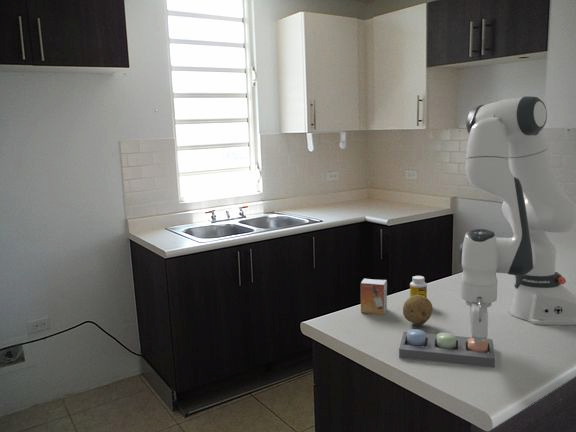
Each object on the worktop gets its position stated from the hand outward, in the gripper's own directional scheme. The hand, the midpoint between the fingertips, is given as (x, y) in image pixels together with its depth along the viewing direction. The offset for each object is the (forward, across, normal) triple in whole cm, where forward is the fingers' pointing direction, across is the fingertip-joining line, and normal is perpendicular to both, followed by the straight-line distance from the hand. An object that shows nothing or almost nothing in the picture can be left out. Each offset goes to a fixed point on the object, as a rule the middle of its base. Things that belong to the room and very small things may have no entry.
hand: (477, 341), depth 135 cm
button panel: (+4, 0, +8) cm, 9 cm away
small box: (+4, +27, +32) cm, 42 cm away
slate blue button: (+2, 0, +16) cm, 16 cm away
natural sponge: (+4, +17, +17) cm, 24 cm away
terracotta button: (+3, 0, 0) cm, 3 cm away
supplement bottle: (+4, +35, +18) cm, 40 cm away
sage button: (+2, 0, +8) cm, 8 cm away
